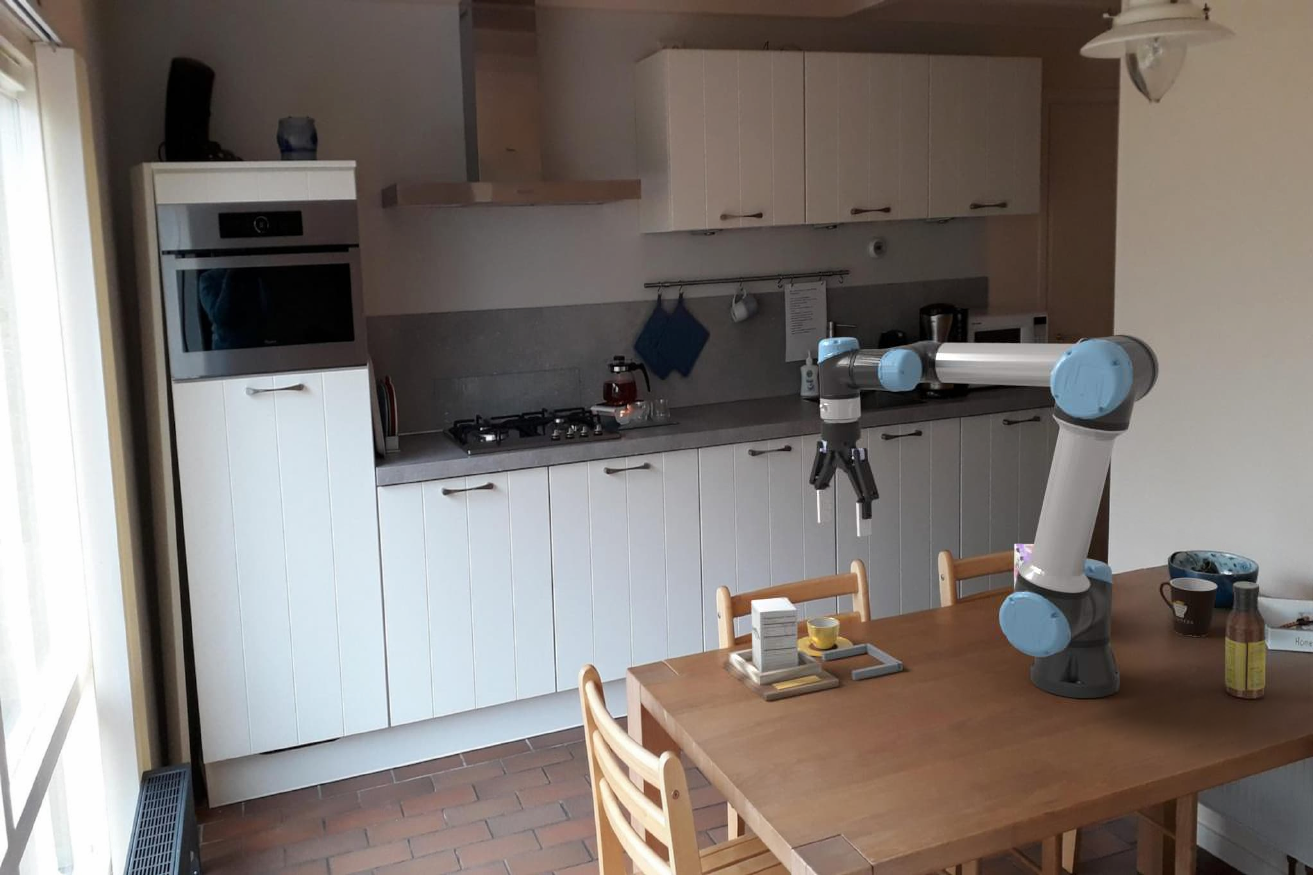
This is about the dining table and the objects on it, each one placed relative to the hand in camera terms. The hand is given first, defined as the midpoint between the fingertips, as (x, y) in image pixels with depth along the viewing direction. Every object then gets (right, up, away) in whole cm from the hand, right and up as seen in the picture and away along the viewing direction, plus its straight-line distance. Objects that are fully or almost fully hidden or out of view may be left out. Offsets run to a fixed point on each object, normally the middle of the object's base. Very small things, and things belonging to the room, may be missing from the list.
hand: (844, 528), depth 217 cm
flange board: (-13, -28, -4) cm, 31 cm away
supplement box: (-14, -26, -3) cm, 30 cm away
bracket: (+3, -26, 0) cm, 26 cm away
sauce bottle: (+67, -27, -20) cm, 75 cm away
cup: (-2, -25, +11) cm, 27 cm away
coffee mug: (+72, -22, +12) cm, 76 cm away
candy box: (+41, -22, +16) cm, 50 cm away
